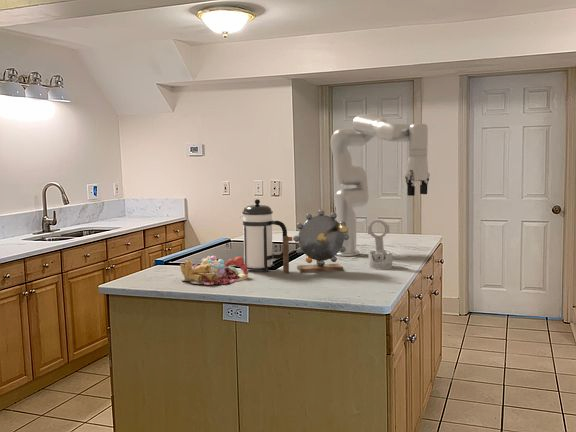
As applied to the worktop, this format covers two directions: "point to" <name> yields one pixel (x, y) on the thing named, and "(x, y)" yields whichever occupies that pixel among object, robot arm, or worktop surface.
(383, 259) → the engine component
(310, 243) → the sprocket
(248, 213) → the coffee press
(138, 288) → the worktop surface
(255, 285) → the worktop surface
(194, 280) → the candy landscape model
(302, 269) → the wheel stand
